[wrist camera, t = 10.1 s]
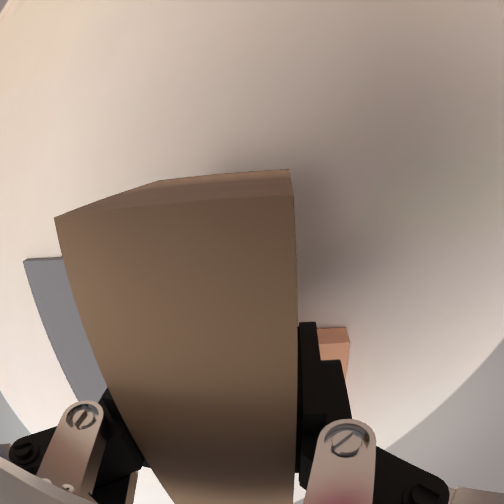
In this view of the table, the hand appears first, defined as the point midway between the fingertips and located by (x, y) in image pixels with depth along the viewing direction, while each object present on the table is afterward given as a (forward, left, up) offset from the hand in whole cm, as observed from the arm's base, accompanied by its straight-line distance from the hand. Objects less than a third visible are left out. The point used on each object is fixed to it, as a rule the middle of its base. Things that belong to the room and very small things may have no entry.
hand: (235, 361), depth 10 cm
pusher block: (0, 0, -1) cm, 1 cm away
